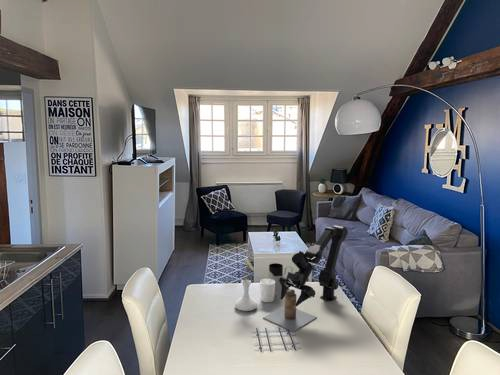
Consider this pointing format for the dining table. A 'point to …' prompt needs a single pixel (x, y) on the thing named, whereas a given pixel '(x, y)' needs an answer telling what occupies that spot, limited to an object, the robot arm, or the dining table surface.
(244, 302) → the flower in vase
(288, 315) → the pepper mill
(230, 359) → the dining table surface
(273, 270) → the grey pitcher
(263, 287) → the white cup
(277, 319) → the slate tile
